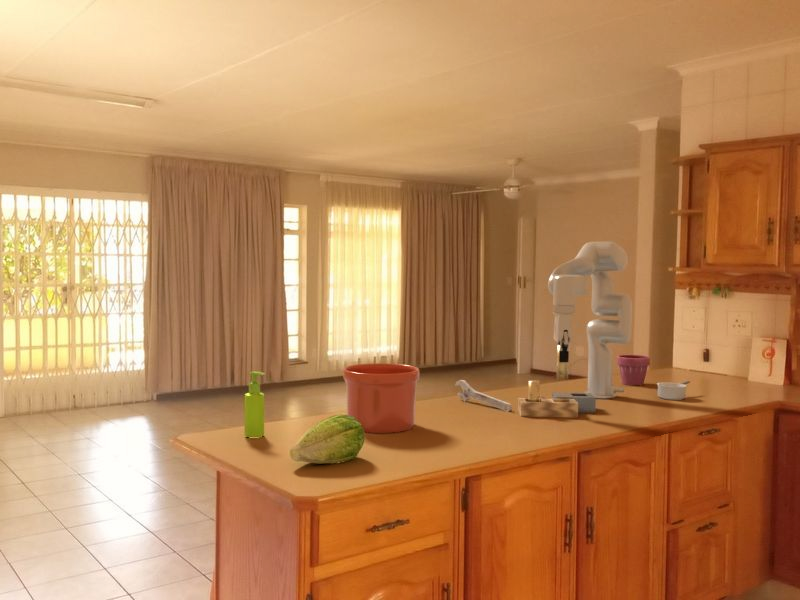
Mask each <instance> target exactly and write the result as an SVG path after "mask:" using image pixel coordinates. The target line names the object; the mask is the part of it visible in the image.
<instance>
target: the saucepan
mask: <svg viewBox="0 0 800 600" xmlns="http://www.w3.org/2000/svg"><path fill="white" fill-rule="evenodd" d="M690 383H691V381H689V380H687V381H683V382H680V383H677V382H657V383H656V385H657V397H659V398H660V399H663V400H668V401H669V400H670V401H681V400H683V399H685V398H686V397H687V396H686V395H687V387H688V385H687V384H690Z"/></svg>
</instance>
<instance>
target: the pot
mask: <svg viewBox="0 0 800 600" xmlns="http://www.w3.org/2000/svg"><path fill="white" fill-rule="evenodd" d="M342 376H343V377H342V378H343V380H344V381H345V390H346V415H348V416H352V417H354V418H356V419H357V420H358V421H359V422H360V423H361V424H362V427H363V430H364V433H368V432H369V433H371V434H392V433H393V432H395V433H402V432H405V431H409V430H411V429H412V428H413V427H414V424H415V415H416V414H415V413H416V397H417V395H416V394H417V391H416V390H417V383H418V381H419V379H420V369H419V368H418V366H417V367H416V366H414V365H410V364H409V365H408V364H401V363H381V362H379V363H359V364H353V365H348V366H347V365H346V366H345V367H344V368H343V370H342ZM401 431H402V432H401Z"/></svg>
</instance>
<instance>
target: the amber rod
mask: <svg viewBox="0 0 800 600" xmlns="http://www.w3.org/2000/svg"><path fill="white" fill-rule="evenodd" d="M527 383H528V385H527V386H528V389H527V398H528V402H539V398H540V397H541V396H540V391H541V390H540V388H541V381H540V380H537V379H536V380H535V379H530V380H528V382H527Z"/></svg>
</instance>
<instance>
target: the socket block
mask: <svg viewBox="0 0 800 600" xmlns="http://www.w3.org/2000/svg"><path fill="white" fill-rule="evenodd" d="M551 399H574V400H575V401H576V402H577V403H578V413H589V414H590V413H596V405H597V404H596V403H597V401H596V399H597V398H595V397H594V396H593V395H592V394H591V393H584V392H575V391H574V392H573V391H572V392H570V391H569V392H567V391H562V392H561V391H560V392H559V391H553V392H552V397H551Z"/></svg>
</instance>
